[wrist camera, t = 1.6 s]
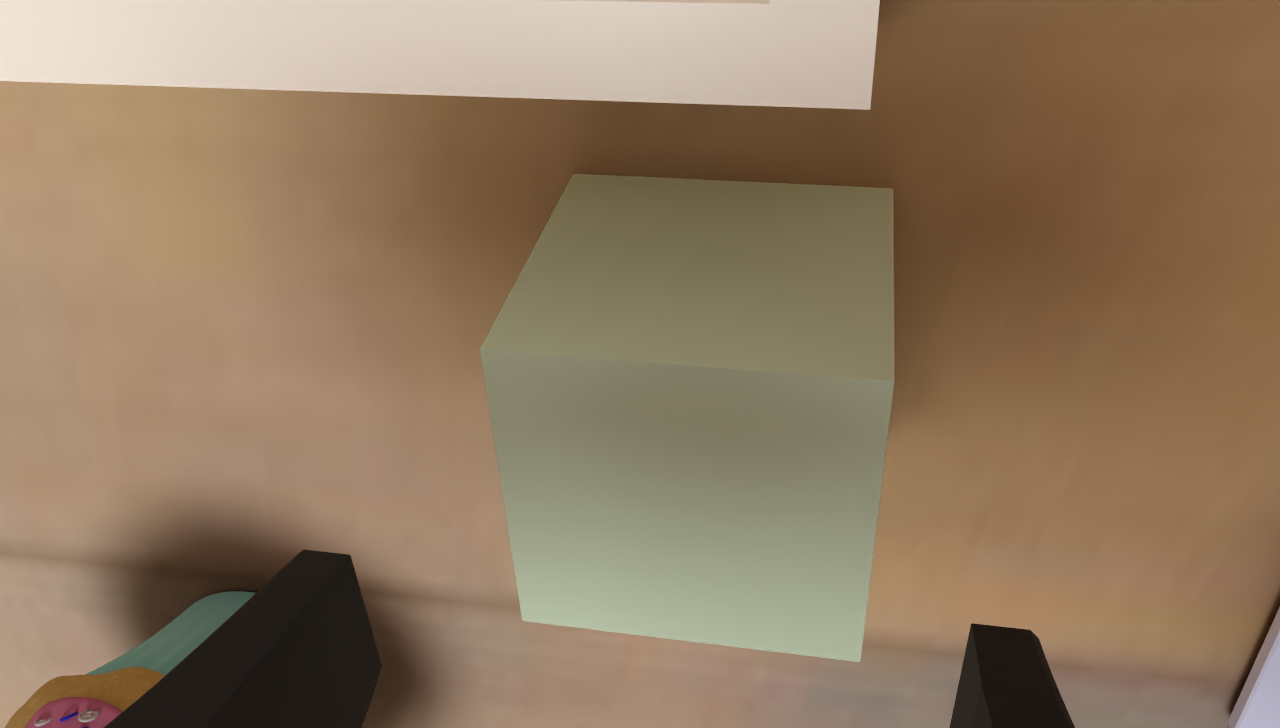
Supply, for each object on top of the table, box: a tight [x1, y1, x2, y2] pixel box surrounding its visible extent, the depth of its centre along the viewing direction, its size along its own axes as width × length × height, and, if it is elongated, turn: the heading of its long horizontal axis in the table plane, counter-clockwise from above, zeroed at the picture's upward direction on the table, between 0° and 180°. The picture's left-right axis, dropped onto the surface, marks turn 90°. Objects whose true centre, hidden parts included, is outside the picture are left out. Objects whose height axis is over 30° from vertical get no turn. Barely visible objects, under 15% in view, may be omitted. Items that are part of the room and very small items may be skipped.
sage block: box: [480, 173, 895, 662], centre depth 16 cm, size 5×5×5 cm
